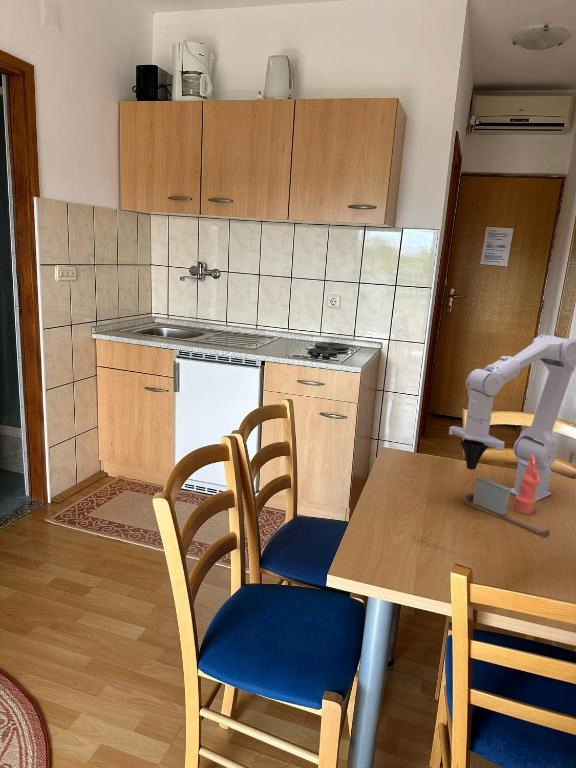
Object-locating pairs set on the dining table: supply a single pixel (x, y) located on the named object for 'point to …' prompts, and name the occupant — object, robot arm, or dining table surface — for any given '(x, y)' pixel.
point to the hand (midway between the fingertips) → (471, 468)
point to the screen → (491, 495)
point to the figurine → (528, 488)
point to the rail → (508, 518)
